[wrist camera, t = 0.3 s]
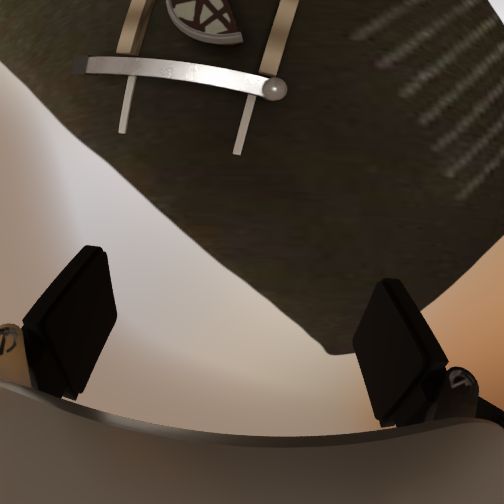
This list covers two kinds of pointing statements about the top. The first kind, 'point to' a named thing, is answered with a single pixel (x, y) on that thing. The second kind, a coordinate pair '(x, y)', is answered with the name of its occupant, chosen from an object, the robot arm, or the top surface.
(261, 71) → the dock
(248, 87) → the retention gate
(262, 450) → the robot arm
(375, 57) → the top surface
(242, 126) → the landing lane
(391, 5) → the top surface
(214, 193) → the top surface
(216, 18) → the food container
